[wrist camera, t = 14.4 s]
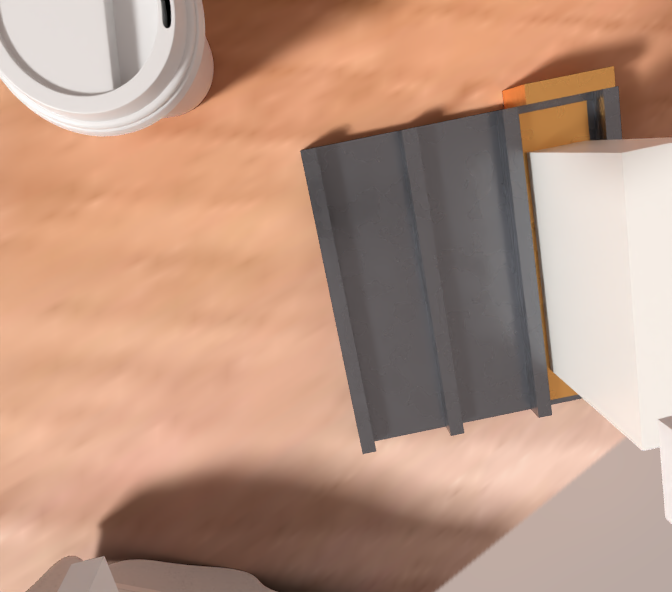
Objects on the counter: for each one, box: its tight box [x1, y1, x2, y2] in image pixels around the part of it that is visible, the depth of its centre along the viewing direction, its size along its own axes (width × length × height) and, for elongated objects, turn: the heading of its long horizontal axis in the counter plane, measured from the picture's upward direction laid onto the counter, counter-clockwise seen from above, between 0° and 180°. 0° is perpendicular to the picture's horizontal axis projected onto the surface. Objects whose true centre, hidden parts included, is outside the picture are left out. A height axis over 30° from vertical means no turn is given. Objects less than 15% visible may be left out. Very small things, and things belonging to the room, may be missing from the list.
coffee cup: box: [0, 0, 214, 136], centre depth 30 cm, size 10×10×15 cm
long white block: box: [527, 137, 672, 451], centre depth 35 cm, size 16×4×12 cm, turn 11°
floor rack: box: [301, 66, 622, 454], centre depth 40 cm, size 23×21×4 cm
